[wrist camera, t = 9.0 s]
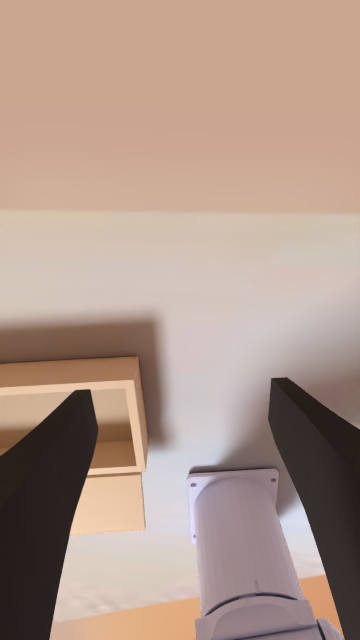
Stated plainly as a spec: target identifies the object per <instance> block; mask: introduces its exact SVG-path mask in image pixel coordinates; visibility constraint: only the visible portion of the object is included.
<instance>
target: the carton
mask: <svg viewBox="0 0 360 640" xmlns="http://www.w3.org/2000/svg"><path fill="white" fill-rule="evenodd" d="M83 389H90V390H91V395H92V399H93V404H94V409H95V414H96V419H97V424H98V429H99V430H98V435H97V441H96V446H95V451H94V455H93V459H92V462H91V465H90V468H89V471H88V474H87V475H97V474H113V473H130V472H146V463H147V452H148V432H147V424H146V416H145V408H144V399H143V391H142V383H141V375H140V366H139V358H138V356H126V357H109V358H92V359H75V360H58V361H41V362H24V363H7V364H0V456H1V455H2V454H4V453H5V452H6V451H8V450H9V449H10V448H11V447H13V446H14V445H15V444H16V443H18V442H19V441H20V440H21V439H22V438H24V437H25V436H26V435H27V434H28V433H29V432H30V431H32V430H33V429H34V428H35V427H36V426H37V425H39V424H40V423H41V422H42V421H43V420H44V419H45V418H46V417H47V416H48V415H49V414H50V413H51V412H52V411H54V410H55V409H56V408H57V407H58V406H59V405H60V404H61V403H62V402H63V401H64V400H65V399H66V398H67V397H68V396H69V395H70V394H71V393H72V392H73V391H75V390H83Z"/></svg>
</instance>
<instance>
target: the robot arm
mask: <svg viewBox="0 0 360 640" xmlns="http://www.w3.org/2000/svg"><path fill="white" fill-rule="evenodd" d="M268 420H269V423H270V427H271V430H272V434H273V437H274V440H275V443H276V445H277V448H278V450H279V452H280V454H281V457H282V459H283V461H284V463H285V466H286V468H287V470H288V472H289V475H290V477H291V479H292V481H293V483H294V486H295V488H296V490H297V492H298V494H299V497H300V499H301V502H302V504H303V507H304V509H305V512H306V515H307V518H308V521H309V524H310V527H311V530H312V533H313V536H314V539H315V542H316V545H317V548H318V551H319V554H320V557H321V560H322V563H323V567H324V570H325V573H326V576H327V580H328V583H329V586H330V589H331V593H332V596H333V599H334V603H335V606H336V610H337V613H338V616H339V620H340V624H341V627H342V631H343V635H344V638H345V640H360V429H358V428H356V427H355V426H353V425H352V424H350V423H349V422H347V421H346V420H344V419H343V418H341V417H339V416H338V415H336V414H335V413H334V412H332V411H331V410H329V409H328V408H327V407H325V406H324V405H322V404H321V403H320V402H318V401H317V400H316V399H314V398H313V397H312V396H310V395H309V394H308V393H307V392H305V391H304V390H303V389H301V388H300V387H299V386H298V385H296V384H295V383H294V382H292V381H291V380H290V379H288V378H287V377H285V378H271V391H270V403H269V416H268ZM98 430H99V429H98V424H97V419H96V414H95V409H94V404H93V399H92V395H91V390H90V389H83V390H75V391H73V392H72V393H71V394H70V395H69V396H68V397H67V398H66V399H65V400H64V401H63V402H62V403H61V404H60V405H59V406H58V407H57V408H56V409H55V410H54V411H52V412H51V413H50V414H49V415H48V416H47V417H46V418H45V419H44V420H43V421H42V422H41V423H40V424H39V425H37V426H36V427H35V428H34V429H33V430H32V431H30V432H29V433H28V434H27V435H26V436H25V437H24V438H22V439H21V440H20V441H19V442H18V443H16V444H15V445H14V446H13V447H11V448H10V449H9V450H8V451H6V452H5V453H4V454H2V455H1V456H0V640H49V638H50V632H51V626H52V621H53V615H54V610H55V604H56V599H57V593H58V588H59V583H60V578H61V573H62V568H63V563H64V558H65V553H66V549H67V544H68V540H69V535H70V531H71V526H72V522H73V519H74V515H75V512H76V508H77V505H78V502H79V499H80V496H81V493H82V490H83V487H84V484H85V481H86V477H87V474H88V471H89V468H90V465H91V462H92V459H93V455H94V451H95V446H96V441H97V435H98ZM187 481H188V498H189V514H190V531H191V543H192V544H193V545H195V546H196V550H197V564H198V578H199V592H200V607H201V618H198V619H196V620H195V627H196V640H344V639H343V637H342V635H341V633H340V632H339V630H338V629H337V628H335V627H334V626H333V625H332V624H330V623H329V622H328V620H327V619H326V618H320V619H317V620H316V621H317V623H316V621H315V617H314V615H313V611H312V608H311V605H310V602H309V600H305V598H304V595H303V592H302V589H301V586H300V583H299V580H298V577H297V574H296V571H295V568H294V564H293V561H292V558H291V555H290V552H289V549H288V546H287V543H286V540H285V537H284V534H283V531H282V528H281V524H280V521H279V518H278V515H277V512H276V501H277V492H278V483H279V472H278V470H277V469H257V470H241V471H224V472H208V473H192V474H190V475H188V477H187Z"/></svg>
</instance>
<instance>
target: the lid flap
mask: <svg viewBox="0 0 360 640" xmlns="http://www.w3.org/2000/svg"><path fill="white" fill-rule="evenodd" d="M145 526H146V524H145V512H144V499H143V487H142V474H141V472H130V473H113V474H97V475H87V477H86V481H85V484H84V487H83V490H82V493H81V496H80V499H79V502H78V505H77V508H76V512H75V515H74V519H73V522H72V526H71V531H70V535H79V534H95V533H111V532H127V531H144V530H145Z"/></svg>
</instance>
